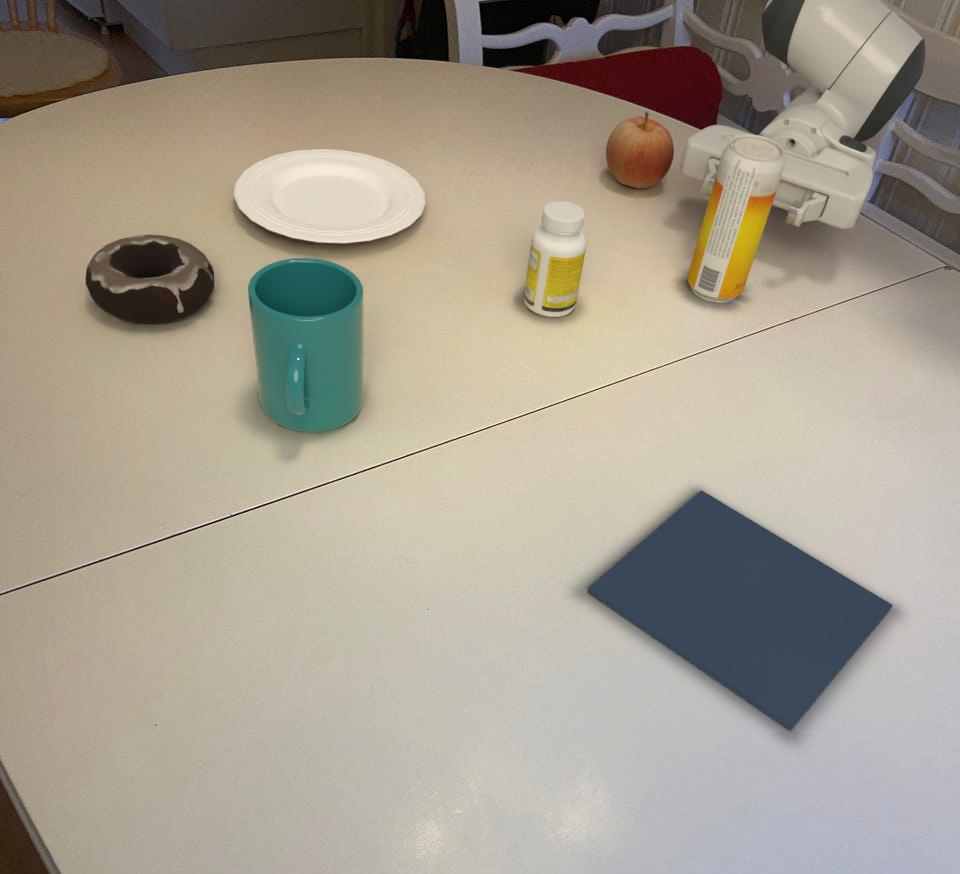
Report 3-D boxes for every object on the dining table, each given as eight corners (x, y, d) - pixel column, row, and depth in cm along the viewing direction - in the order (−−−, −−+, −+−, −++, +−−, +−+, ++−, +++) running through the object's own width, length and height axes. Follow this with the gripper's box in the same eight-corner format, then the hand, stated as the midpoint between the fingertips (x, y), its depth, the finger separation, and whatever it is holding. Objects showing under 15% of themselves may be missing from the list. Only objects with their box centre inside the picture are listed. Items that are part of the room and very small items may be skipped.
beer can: (747, 285, 104) (795, 143, 93) (732, 311, 100) (780, 167, 89) (694, 268, 105) (735, 126, 94) (678, 294, 102) (718, 149, 90)
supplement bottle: (584, 303, 99) (602, 210, 91) (557, 325, 96) (574, 231, 88) (540, 283, 101) (554, 191, 93) (512, 304, 98) (525, 210, 90)
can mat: (890, 609, 75) (893, 604, 75) (790, 731, 67) (793, 726, 66) (699, 494, 82) (701, 489, 81) (587, 592, 73) (588, 587, 73)
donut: (87, 334, 88) (77, 295, 85) (94, 265, 95) (85, 227, 92) (218, 330, 90) (213, 292, 87) (215, 263, 97) (210, 225, 94)
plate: (351, 281, 97) (350, 263, 96) (194, 212, 103) (191, 194, 102) (460, 205, 109) (461, 188, 108) (314, 147, 115) (314, 131, 114)
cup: (243, 453, 80) (228, 335, 71) (270, 367, 87) (259, 251, 79) (352, 463, 80) (350, 348, 71) (369, 377, 88) (369, 263, 79)
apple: (599, 163, 119) (612, 95, 113) (662, 171, 120) (678, 103, 113) (601, 194, 114) (615, 124, 108) (667, 202, 115) (684, 132, 108)
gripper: (714, 99, 108) (666, 140, 100) (891, 155, 102) (855, 204, 94) (700, 156, 113) (653, 200, 104) (868, 213, 107) (832, 264, 99)
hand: (750, 202), depth 99 cm, fingers open, 8 cm apart
